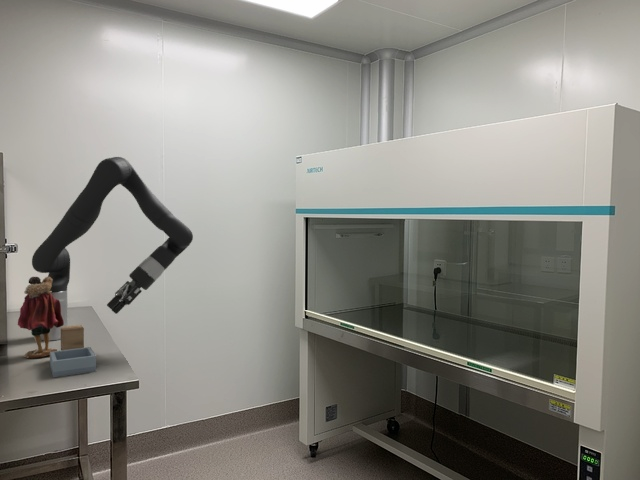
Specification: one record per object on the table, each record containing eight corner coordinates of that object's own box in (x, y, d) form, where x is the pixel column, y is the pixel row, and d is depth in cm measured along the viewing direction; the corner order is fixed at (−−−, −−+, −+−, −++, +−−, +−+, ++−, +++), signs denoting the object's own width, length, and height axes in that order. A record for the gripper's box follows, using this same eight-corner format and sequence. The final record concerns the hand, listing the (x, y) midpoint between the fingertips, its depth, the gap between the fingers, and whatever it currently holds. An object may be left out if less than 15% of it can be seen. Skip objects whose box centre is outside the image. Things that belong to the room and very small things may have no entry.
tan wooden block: (60, 358, 155) (60, 326, 154) (81, 355, 158) (81, 324, 157) (62, 362, 150) (62, 330, 150) (83, 359, 154) (83, 328, 153)
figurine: (54, 347, 166) (53, 274, 165) (68, 353, 160) (67, 277, 158) (13, 355, 157) (12, 277, 155) (26, 362, 150) (25, 280, 149)
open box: (50, 366, 146) (50, 351, 146) (90, 361, 152) (90, 346, 152) (53, 377, 137) (53, 361, 136) (96, 371, 143) (96, 356, 142)
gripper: (134, 263, 169) (98, 298, 164) (144, 267, 157) (106, 305, 152) (150, 277, 173) (115, 312, 167) (161, 282, 161) (124, 321, 155)
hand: (111, 309), depth 159 cm, fingers open, 8 cm apart
